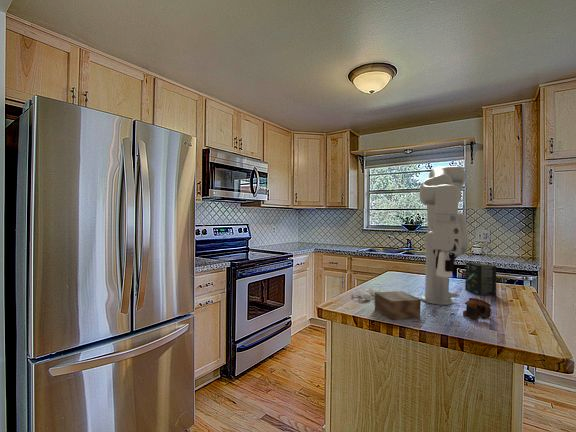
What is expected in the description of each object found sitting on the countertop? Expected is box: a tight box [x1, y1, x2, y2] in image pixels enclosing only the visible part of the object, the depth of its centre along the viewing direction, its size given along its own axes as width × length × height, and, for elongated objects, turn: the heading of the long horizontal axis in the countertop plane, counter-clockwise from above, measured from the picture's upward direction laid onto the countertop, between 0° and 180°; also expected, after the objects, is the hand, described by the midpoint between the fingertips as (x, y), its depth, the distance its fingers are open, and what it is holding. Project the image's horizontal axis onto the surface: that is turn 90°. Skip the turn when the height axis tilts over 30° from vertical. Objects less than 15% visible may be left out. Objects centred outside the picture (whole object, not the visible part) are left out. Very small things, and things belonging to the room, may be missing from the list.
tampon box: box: [464, 261, 497, 296], centre depth 155 cm, size 11×9×15 cm
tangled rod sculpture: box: [352, 287, 382, 301], centre depth 144 cm, size 19×14×4 cm
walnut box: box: [374, 290, 422, 321], centre depth 119 cm, size 12×12×7 cm
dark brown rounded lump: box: [462, 297, 492, 321], centre depth 116 cm, size 12×10×8 cm
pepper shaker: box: [436, 250, 453, 278], centre depth 111 cm, size 5×5×11 cm
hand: (444, 269), depth 111 cm, fingers closed on pepper shaker, 3 cm apart
